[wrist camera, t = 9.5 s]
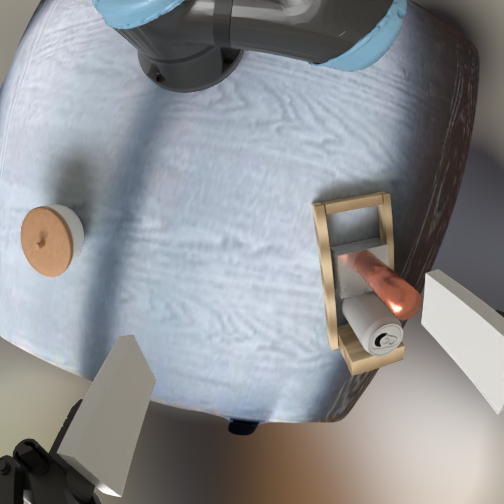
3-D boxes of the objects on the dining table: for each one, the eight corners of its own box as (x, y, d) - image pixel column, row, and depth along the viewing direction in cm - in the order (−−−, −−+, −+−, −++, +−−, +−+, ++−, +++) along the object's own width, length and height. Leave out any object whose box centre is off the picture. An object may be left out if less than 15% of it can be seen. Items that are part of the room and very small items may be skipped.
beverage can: (348, 281, 45) (377, 319, 33) (379, 288, 45) (412, 324, 34) (334, 314, 47) (358, 357, 35) (365, 319, 47) (393, 360, 36)
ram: (329, 247, 42) (375, 298, 26) (377, 236, 42) (438, 279, 26) (334, 287, 45) (374, 350, 29) (378, 276, 44) (432, 330, 28)
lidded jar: (44, 249, 41) (14, 268, 32) (50, 192, 38) (15, 202, 29) (90, 268, 43) (62, 291, 34) (99, 207, 39) (67, 221, 31)
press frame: (311, 203, 40) (332, 217, 31) (382, 191, 40) (417, 201, 31) (328, 341, 48) (343, 378, 39) (386, 325, 48) (410, 356, 38)
